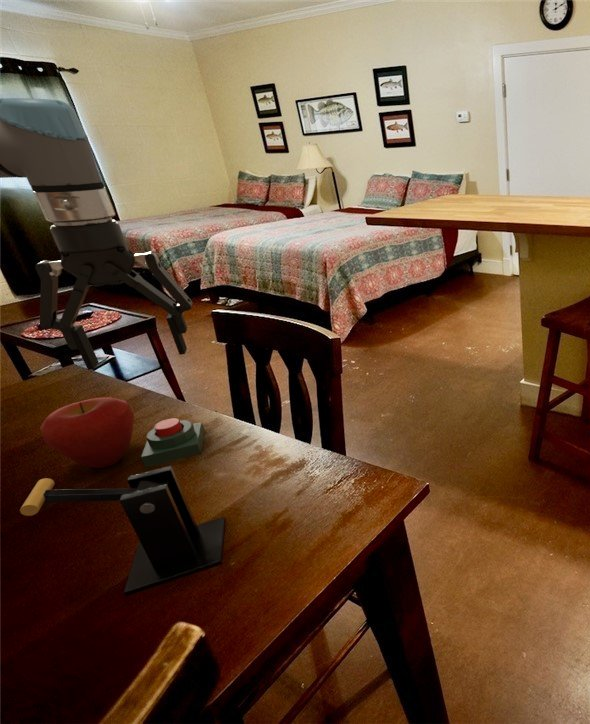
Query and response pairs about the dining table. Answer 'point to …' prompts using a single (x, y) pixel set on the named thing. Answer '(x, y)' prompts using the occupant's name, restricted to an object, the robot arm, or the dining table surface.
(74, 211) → the robot arm
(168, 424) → the button
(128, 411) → the apple
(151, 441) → the button box
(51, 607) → the dining table surface
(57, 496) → the lever
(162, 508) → the bracket
